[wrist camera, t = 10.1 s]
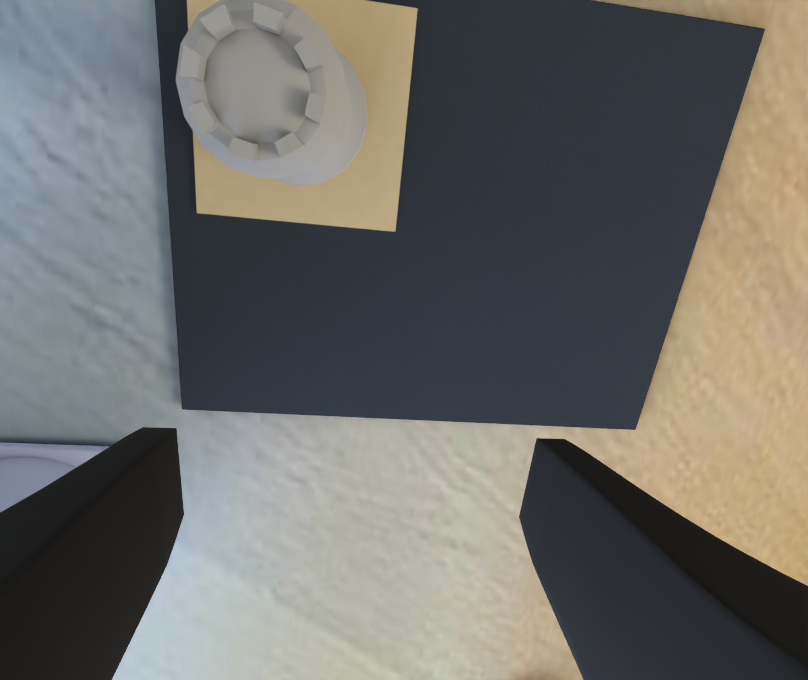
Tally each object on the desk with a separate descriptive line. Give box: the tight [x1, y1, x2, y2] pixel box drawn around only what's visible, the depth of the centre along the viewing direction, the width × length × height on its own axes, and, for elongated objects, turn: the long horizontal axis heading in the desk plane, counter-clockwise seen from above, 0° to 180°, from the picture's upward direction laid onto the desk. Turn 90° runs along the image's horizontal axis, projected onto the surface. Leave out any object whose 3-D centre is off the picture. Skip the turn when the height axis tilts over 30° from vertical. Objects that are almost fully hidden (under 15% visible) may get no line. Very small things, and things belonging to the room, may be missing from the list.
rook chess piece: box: [176, 0, 368, 186], centre depth 12 cm, size 4×4×8 cm
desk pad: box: [155, 0, 765, 430], centre depth 18 cm, size 20×16×1 cm
